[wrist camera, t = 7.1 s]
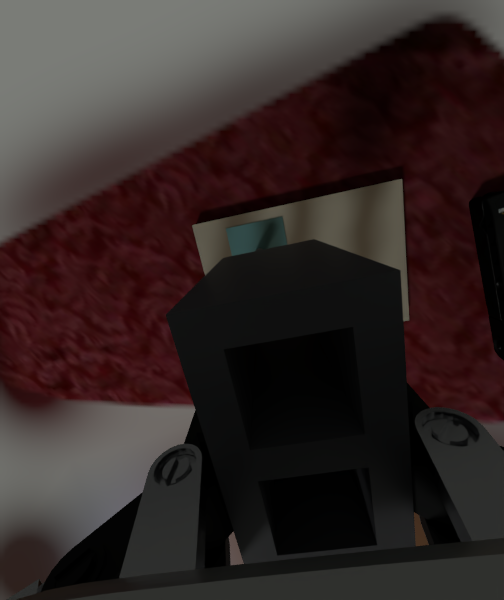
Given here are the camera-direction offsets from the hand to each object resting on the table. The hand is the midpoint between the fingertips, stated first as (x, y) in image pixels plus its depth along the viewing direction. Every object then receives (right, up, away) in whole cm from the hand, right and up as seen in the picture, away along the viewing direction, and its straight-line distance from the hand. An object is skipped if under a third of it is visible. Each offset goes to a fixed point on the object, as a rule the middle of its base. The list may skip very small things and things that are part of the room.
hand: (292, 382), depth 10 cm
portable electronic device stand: (+24, +5, +18) cm, 31 cm away
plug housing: (0, +1, +2) cm, 2 cm away
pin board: (+4, +6, +19) cm, 20 cm away
